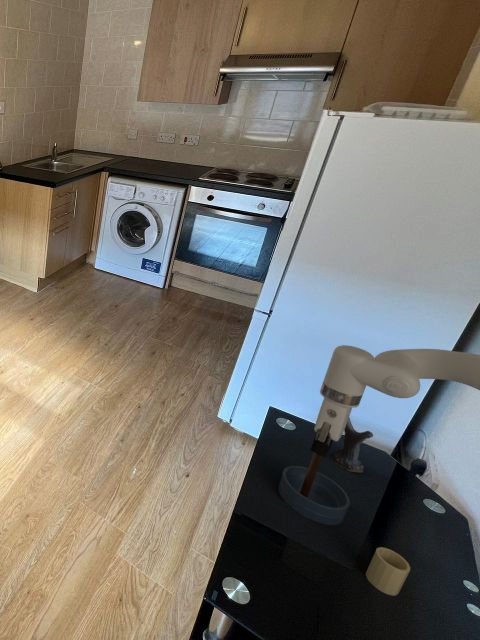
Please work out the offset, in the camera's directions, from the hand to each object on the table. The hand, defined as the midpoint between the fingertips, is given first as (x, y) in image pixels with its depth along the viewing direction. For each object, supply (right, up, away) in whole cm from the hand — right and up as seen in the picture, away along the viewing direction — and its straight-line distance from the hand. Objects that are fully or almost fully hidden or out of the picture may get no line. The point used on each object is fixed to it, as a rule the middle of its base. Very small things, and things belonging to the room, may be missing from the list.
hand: (319, 451), depth 107 cm
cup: (+1, -23, -15) cm, 28 cm away
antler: (+24, -13, +20) cm, 34 cm away
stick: (0, -14, +5) cm, 15 cm away
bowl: (+2, -17, +5) cm, 18 cm away
